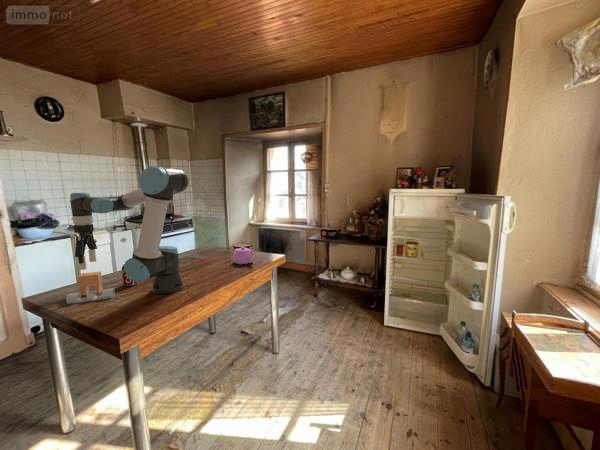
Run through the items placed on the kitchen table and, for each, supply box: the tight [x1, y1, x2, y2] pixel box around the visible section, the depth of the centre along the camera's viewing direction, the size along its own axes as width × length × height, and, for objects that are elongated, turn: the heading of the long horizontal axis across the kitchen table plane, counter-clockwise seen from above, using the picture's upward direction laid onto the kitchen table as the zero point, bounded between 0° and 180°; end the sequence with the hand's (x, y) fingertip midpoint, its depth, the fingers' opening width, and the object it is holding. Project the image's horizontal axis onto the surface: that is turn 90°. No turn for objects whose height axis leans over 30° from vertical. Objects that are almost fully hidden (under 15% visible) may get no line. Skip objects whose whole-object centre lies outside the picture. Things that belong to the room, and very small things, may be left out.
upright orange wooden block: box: [77, 271, 104, 296], centre depth 131 cm, size 8×5×10 cm, turn 112°
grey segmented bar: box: [65, 287, 116, 305], centre depth 124 cm, size 18×4×4 cm, turn 112°
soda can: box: [121, 263, 139, 287], centre depth 142 cm, size 7×7×12 cm
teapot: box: [232, 246, 255, 265], centre depth 182 cm, size 20×13×12 cm, turn 55°
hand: (88, 265), depth 130 cm, fingers open, 13 cm apart
